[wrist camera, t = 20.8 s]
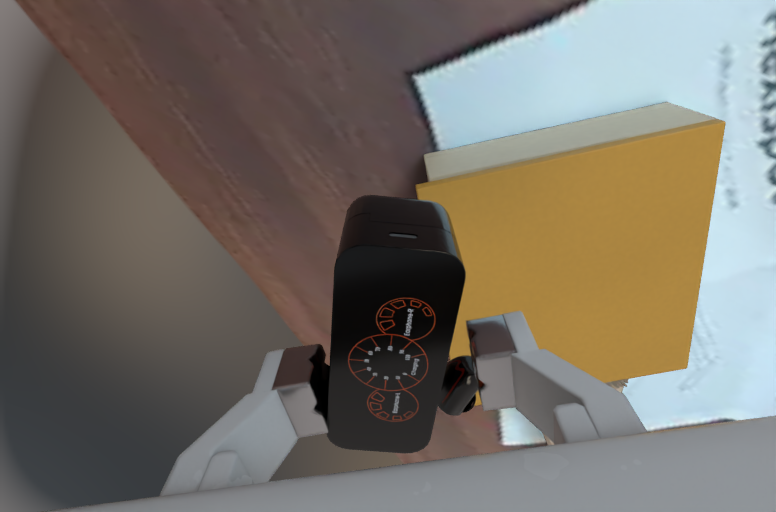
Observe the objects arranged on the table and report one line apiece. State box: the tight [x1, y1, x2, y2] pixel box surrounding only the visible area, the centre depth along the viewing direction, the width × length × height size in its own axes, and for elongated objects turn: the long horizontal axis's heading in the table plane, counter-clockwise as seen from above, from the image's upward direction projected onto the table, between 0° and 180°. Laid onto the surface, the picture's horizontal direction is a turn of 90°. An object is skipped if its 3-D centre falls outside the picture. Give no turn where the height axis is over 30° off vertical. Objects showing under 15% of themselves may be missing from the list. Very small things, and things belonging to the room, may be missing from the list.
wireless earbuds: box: [327, 195, 478, 453], centre depth 12 cm, size 5×7×3 cm, turn 174°
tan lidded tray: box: [423, 102, 716, 182], centre depth 29 cm, size 15×17×4 cm
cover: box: [415, 119, 725, 406], centre depth 26 cm, size 15×17×1 cm
